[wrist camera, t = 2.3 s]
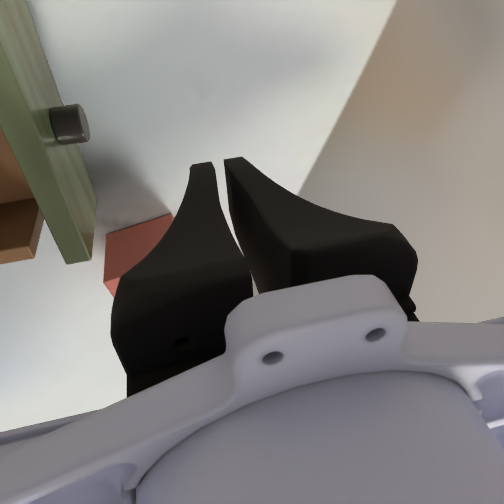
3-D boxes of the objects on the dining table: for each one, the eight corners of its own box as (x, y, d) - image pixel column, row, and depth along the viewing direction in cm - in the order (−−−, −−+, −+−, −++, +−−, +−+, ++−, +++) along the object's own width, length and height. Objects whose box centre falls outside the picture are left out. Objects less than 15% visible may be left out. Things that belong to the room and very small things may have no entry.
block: (193, 260, 29) (201, 306, 26) (134, 279, 29) (135, 328, 26) (171, 213, 26) (178, 258, 23) (105, 234, 26) (102, 282, 23)
